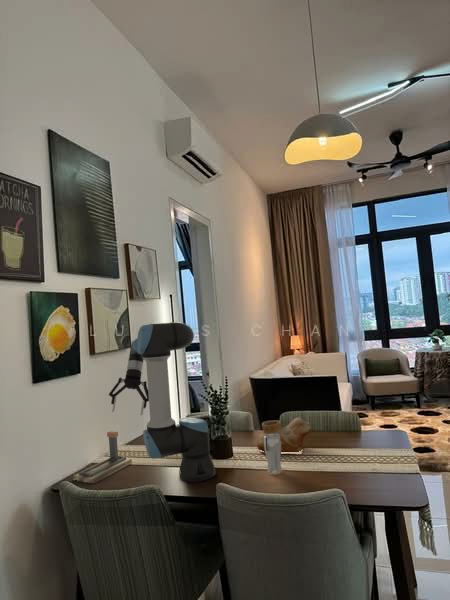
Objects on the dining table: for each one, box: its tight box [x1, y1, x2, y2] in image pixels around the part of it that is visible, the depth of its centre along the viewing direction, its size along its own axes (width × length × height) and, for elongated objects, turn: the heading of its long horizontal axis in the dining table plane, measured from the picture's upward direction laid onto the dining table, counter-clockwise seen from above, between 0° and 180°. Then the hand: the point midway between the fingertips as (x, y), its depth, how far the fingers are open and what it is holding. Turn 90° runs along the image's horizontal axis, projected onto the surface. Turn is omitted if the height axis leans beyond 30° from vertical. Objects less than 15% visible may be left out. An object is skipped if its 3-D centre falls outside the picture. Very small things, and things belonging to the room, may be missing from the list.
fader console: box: [72, 455, 133, 484], centre depth 189 cm, size 12×24×3 cm, turn 152°
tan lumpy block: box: [256, 416, 312, 452], centre depth 199 cm, size 14×26×15 cm, turn 80°
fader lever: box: [106, 430, 120, 462], centre depth 196 cm, size 5×2×13 cm, turn 62°
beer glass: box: [264, 433, 283, 473], centre depth 174 cm, size 7×7×15 cm
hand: (127, 413), depth 203 cm, fingers open, 13 cm apart
